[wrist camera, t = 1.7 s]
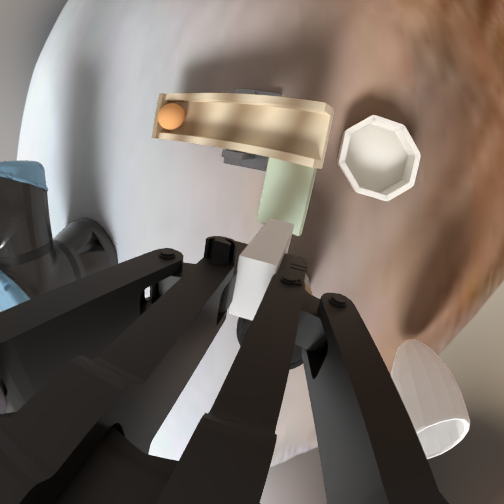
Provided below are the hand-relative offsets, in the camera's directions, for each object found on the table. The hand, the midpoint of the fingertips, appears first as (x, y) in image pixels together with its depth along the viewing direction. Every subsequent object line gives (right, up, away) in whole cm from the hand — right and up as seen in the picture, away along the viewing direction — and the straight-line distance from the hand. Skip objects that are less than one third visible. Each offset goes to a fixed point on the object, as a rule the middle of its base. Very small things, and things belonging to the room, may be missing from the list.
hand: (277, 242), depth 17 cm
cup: (+25, -15, +24) cm, 38 cm away
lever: (-4, +11, +14) cm, 18 cm away
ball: (-12, +16, +14) cm, 25 cm away
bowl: (+15, +12, +17) cm, 25 cm away
